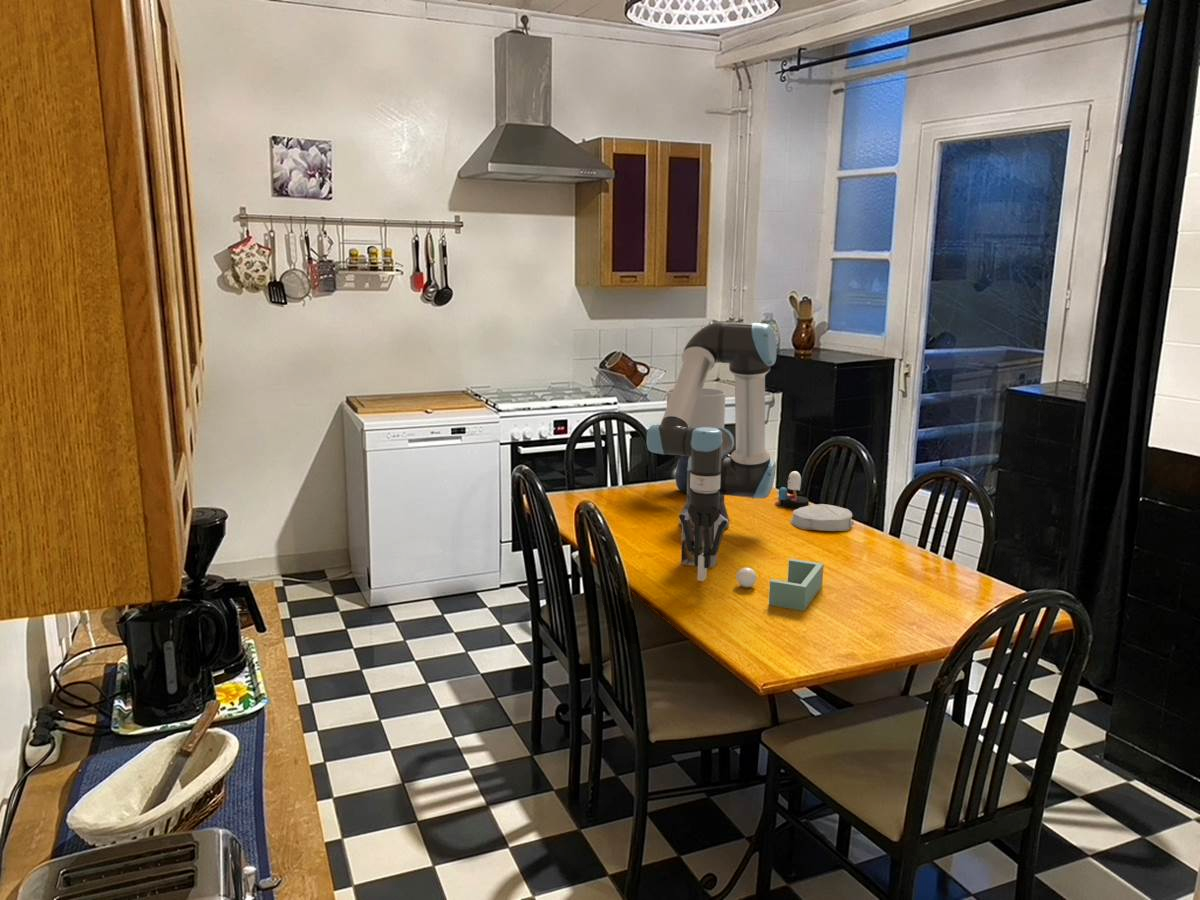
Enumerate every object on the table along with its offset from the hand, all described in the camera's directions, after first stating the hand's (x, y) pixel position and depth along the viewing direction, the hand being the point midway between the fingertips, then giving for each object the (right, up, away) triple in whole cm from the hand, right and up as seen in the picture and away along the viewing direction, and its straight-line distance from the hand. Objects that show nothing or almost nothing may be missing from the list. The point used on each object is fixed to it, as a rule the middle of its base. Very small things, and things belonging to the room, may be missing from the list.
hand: (702, 579), depth 230 cm
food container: (+44, +9, +55) cm, 71 cm away
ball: (+11, +1, -3) cm, 11 cm away
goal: (+22, -3, -8) cm, 23 cm away
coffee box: (+1, +2, +15) cm, 16 cm away
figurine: (+39, +14, +76) cm, 86 cm away
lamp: (+7, +18, +92) cm, 94 cm away
